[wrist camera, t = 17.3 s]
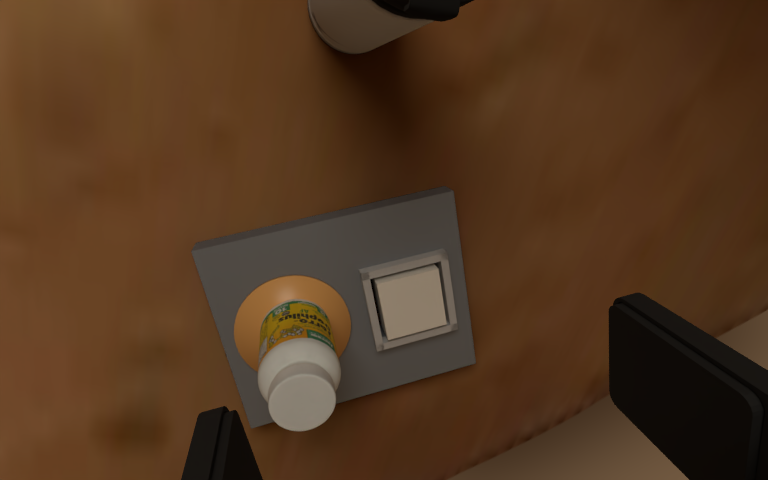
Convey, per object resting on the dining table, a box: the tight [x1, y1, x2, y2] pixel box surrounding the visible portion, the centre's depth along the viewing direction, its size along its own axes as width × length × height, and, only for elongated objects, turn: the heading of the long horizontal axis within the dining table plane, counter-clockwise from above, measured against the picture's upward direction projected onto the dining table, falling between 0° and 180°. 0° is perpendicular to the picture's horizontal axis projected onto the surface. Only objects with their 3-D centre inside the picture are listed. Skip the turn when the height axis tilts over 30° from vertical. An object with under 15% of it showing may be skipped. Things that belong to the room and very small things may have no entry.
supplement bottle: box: [258, 299, 341, 431], centre depth 32 cm, size 5×5×10 cm
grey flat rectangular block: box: [191, 186, 476, 428], centre depth 38 cm, size 20×16×3 cm
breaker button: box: [372, 263, 447, 340], centre depth 38 cm, size 5×5×3 cm
